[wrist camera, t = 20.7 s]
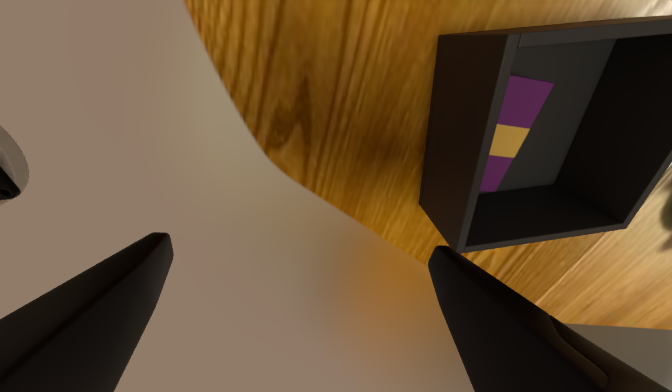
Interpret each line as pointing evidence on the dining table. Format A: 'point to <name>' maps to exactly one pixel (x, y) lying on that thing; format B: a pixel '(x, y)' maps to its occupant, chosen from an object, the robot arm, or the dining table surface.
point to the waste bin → (549, 130)
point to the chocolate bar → (513, 125)
